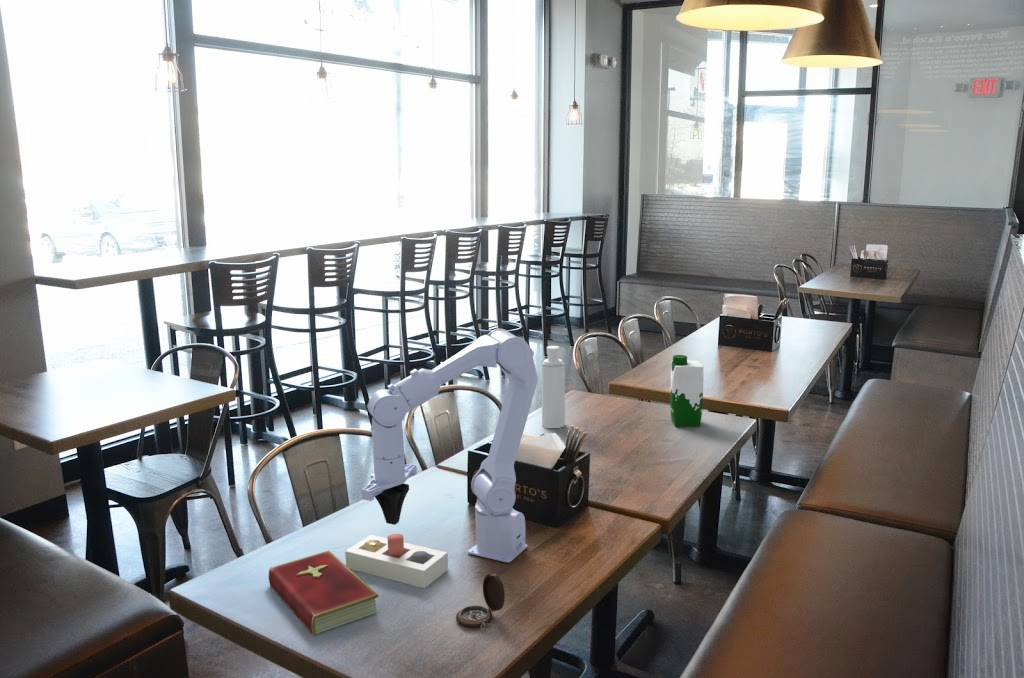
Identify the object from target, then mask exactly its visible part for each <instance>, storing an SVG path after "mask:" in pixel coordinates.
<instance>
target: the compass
mask: <svg viewBox="0 0 1024 678" xmlns="http://www.w3.org/2000/svg"><path fill="white" fill-rule="evenodd" d="M505 592H506V591H505V588H504V584H503V581H502V580H501V578H500V576H498V575H497V573H494V572H493V573H488V574H486V575H485V576H484V579H483V581H482V595H483V598H484V601H485V605H486V606H487V607H484V606H482V605H476V604H475V605H469V606H466V607H463V608H462V609H460V610H459V611H458V612H457V613H456V616H455V618H456V622H457V625H459V626H460V627H462V628H464V629H468V630H477V629H481V630H483V631H488V630H491V629H492V627H493V626H492V624H491V623H492V621H493V612H496V611H500V610H502V608H503V607H504V604H505V602H506V601H505V599H506V598H505V597H506V594H505ZM487 626H490V627H489V628H486V627H487Z"/></svg>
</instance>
